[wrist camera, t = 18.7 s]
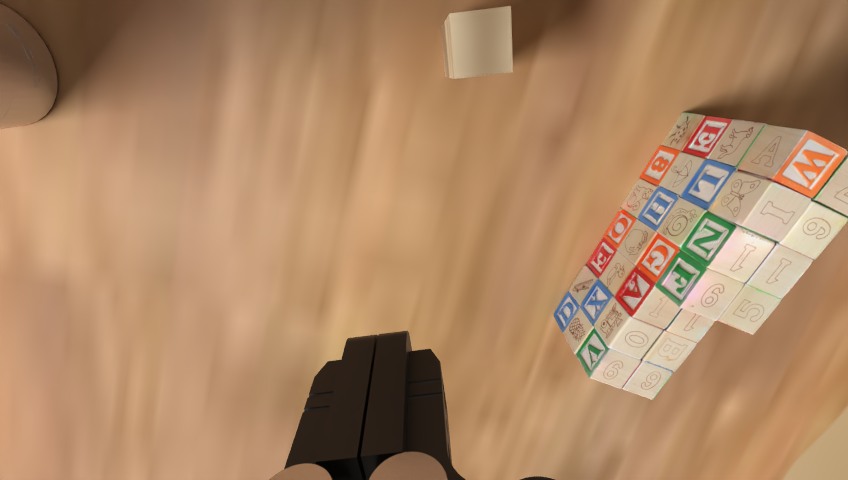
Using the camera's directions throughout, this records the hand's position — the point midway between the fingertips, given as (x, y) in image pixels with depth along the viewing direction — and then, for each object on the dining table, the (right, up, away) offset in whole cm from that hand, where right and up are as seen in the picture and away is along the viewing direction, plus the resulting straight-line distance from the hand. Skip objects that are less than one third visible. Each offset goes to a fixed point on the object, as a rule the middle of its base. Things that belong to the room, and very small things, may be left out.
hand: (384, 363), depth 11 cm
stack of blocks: (+21, +4, +28) cm, 35 cm away
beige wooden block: (+4, +18, +22) cm, 28 cm away
